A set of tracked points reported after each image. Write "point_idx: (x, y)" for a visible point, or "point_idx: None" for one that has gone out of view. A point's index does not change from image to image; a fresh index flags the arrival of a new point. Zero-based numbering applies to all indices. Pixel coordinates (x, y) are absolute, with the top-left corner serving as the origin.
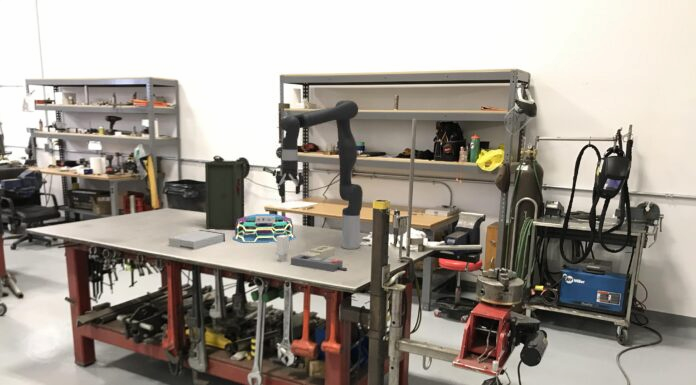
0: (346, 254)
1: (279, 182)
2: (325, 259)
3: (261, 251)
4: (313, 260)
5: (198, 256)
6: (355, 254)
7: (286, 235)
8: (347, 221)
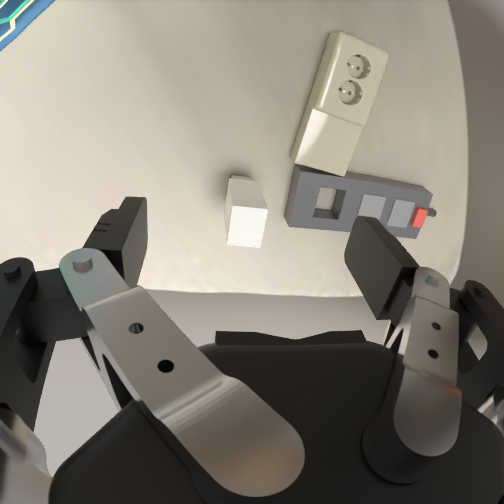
0: (409, 41)
1: (68, 329)
2: (391, 200)
3: (103, 115)
4: None
5: (14, 256)
6: (431, 37)
7: (256, 210)
8: None
